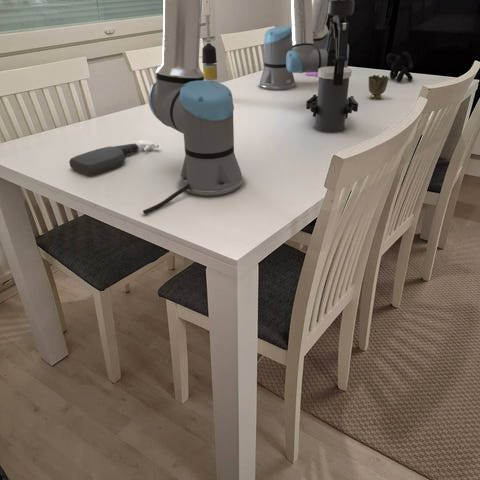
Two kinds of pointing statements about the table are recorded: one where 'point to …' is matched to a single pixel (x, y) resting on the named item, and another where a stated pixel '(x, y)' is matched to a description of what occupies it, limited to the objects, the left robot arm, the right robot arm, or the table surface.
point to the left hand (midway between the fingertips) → (333, 80)
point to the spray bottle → (106, 157)
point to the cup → (377, 85)
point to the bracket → (312, 73)
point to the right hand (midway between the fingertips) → (330, 113)
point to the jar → (331, 105)
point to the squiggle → (399, 66)
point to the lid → (332, 72)
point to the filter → (209, 57)
